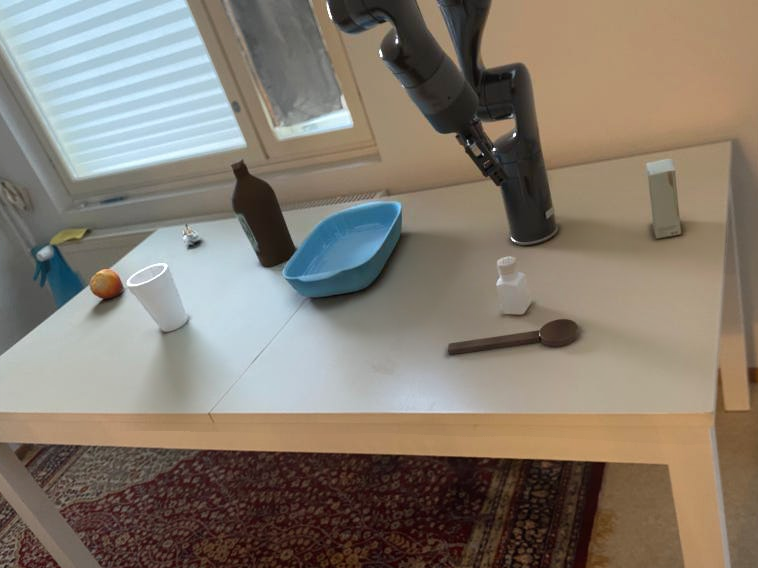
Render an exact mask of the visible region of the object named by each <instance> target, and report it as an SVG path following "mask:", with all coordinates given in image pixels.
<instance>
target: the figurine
mask: <svg viewBox="0 0 758 568" xmlns="http://www.w3.org/2000/svg"><path fill="white" fill-rule="evenodd" d="M184 227H185V229H184V230H183V232H182V236H183V238H182V242H183V244H187V245H189V246H194V245H195V243H196V242H197V241H198V239H199V233H198V232H197V231H196V230H194V229H192V228H191V227H189V225H188V224H187V223H185V224H184Z"/></svg>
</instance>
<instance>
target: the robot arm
mask: <svg viewBox="0 0 758 568" xmlns="http://www.w3.org/2000/svg"><path fill="white" fill-rule="evenodd" d="M435 2H436V4H437V7H438V9H439V12H440V14H441V16H442V19H443V22H444V25H445V27H446V29H447V32H448V35H449V38H450V41H451V43H452V47H453V49H454V52H455V55H456V58H457V59H456V60H457V63H458V66H459V67H458V66H457V64H456V63H455V62H454V60H453V59H452V58H451V57H450V56H449V55H448V54H447V53H446V52H445V50H443V48H442V46H441V45H440V44H439V42H438V41H437V40H436V38H435V37H434V36H433V34H432V32H431V31H430V30H429V29H428V25H427V24H426V21H425V19H424V16H423V14H422V11H421V8H420V6H419V3H418V1H417V0H326V8H327V12H328V15H329V18H330V20H331V22H332V23H333V24H334V26H335V27H336V29H338V30H339V31H341V32H343V33H345V34H347V35H353V36H354V35H360V34H363V33H366V32H368V31H371V30H372V29H374V28H377V27H379V26H381V25H383V24H386V23H389V24H390V25H391V26H392V27H391V28H390V29H389V30H388V31H387V32H386V33H385V35H384V36H383V38H382V40H381V42H380V44H379V55H380V58H381V61H382V62H383V63H384V65H385V66H386V67H387V69H388V71H390V73H391V74H392V75H393V76H394V78H395V79H396V80H397V82H398V83H399V84H400V85H401V86H402V88H403V89H404V91H405V92H406V94H407V95H408V98H409V99H410V101H411V102H412V103H413V104H414V106H415V107H416V108H417V109H418V110H419V112H420V113H421V114H422V116H423V117H424V118H425V119H426V120H427V122H428V123H429V124H430V126H431V127H432V128H433V129H434V130H435V132H437V133H438V134H441V135H450V134H455V135H454V138H455V139H456V141H457V142H458V144H459V145H460V146H462V147H463V148H464V152H465V153H466V155H468V157H470V160H472V162H473V163H474V164H475V166H476V167H477V168H478V170H479V172H481V175H482V176H483V177H484V178H485V179H486V178H488V177H489V178H490V180H491V181H492V183H494V185H495V186H496V187H499V191H500V196H501V199H502V203H503V207H504V211H505V217H506V220H507V221H506V222H507V225H508V229H509V234H510V240H511V242H512V243H513V244H515V245H518V246H533V245H537V244H542V243H544V242H546V241H548V240H550V239H552V238H554V236H555V235H556V234H557V233H558V231H559V226H558V224H557V219H556V214H555V213H556V212H555V206H554V204H553V198H552V194H551V189H550V188H551V187H550V184H549V178H548V174H547V173H548V172H547V169H546V168H547V167H546V163H545V162H546V161H545V158H544V153H543V148H542V143H541V136H540V135H541V134H540V127H539V120H538V115H537V109H536V101H535V94H534V86H533V80H532V77H531V73H530V71H529V68H528V67H527V65H526V64H524V63H523V62H519V61H518V62H512V63H507V64H503V65H499V66H493V67H489V68H487V67H486V66H485V63H484V60H483V55H482V43H483V38H484V33H485V29H486V25H487V22H488V19H489V15H490V13H491V12H490V11H491V7H492V3H493V0H435ZM513 119H514V127H513V128H512V129H510V130H509V131H507V132H506V133H504V134H501V135H500V136H499V137H497V138H496V139H495V140H494V141H492V140H491V139H490V137H489V136H488V134H487V133H486V132H485V130H484V129H485V128H484V127H483V124H484V123H485V124H486V123H487V124H488V123H495V122H502V121H507V120H513Z"/></svg>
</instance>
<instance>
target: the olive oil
mask: <svg viewBox="0 0 758 568" xmlns="http://www.w3.org/2000/svg"><path fill="white" fill-rule="evenodd" d="M229 165H230V167H231V171H232V173H233V175H234V177H235V182H234V186H233V188H232V190H231V194H230V205H231V208H232V211H233V213H234V215H235V218H237V221H238V223H239V224H240V226H241V227H242V228H241V229H242V230H243V232H244V233H245V236H246V238H247V240H248V241H249V244H250V245H251V248H252V249H253V252H254V253H255V255H256V257H257V259H258V261H259V264H260V265H261V266H264V267H271V266H276V265H279V264H282V263H284V262H286V261H287V260H290V259H291V257H292V256H293V255H294V253H295V252H296V251H297V249H296V245H295V244H294V240H293V238H292V235H291V233H290V230H289V228H288V226H287V222H286V220H285V216H284V214H283V212H282V208H281V206H280V202H279V200H278V198H277V194H276V192H275V190H274V188H273V187H272V186H271V184H270V183H268V182H267V181H266V180H264V179H261V178H259V177H257V176H255V175H253V174H251V173H250V171H249V169H248V166H247V164H246V163H245V161H244V159H243V158H237V159H234V160H232V161H231V162H230V163H229Z"/></svg>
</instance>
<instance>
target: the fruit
mask: <svg viewBox="0 0 758 568" xmlns="http://www.w3.org/2000/svg"><path fill="white" fill-rule="evenodd" d="M89 289H90V291H91V293H92V294H93V295H94V296H95V297H97V298H100V299H103V300H106V299H107V300H108V299H111V298H115V297H118V296H119V295H120V294H121V293H122V292H123V290H124V289H125V287H124V284H123V282H122V280H121V277H120V275H119V274H118V273H117V272H116V271H115V270H113V269H111V268H104V269H101V270H99V271H98V272H96V273H95V274H94V275H93V276H92V278H91V279H90V282H89Z"/></svg>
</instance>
